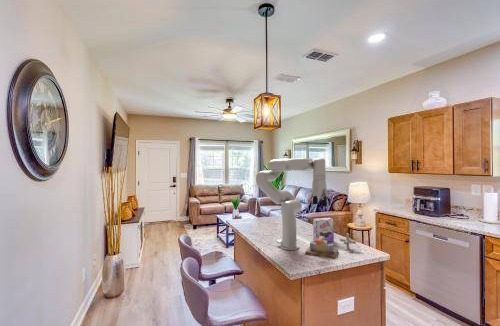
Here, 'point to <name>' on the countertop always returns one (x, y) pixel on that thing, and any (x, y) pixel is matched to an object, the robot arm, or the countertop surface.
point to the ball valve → (322, 247)
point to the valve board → (321, 254)
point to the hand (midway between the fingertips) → (319, 205)
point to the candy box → (323, 229)
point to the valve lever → (319, 240)
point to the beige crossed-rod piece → (347, 241)
